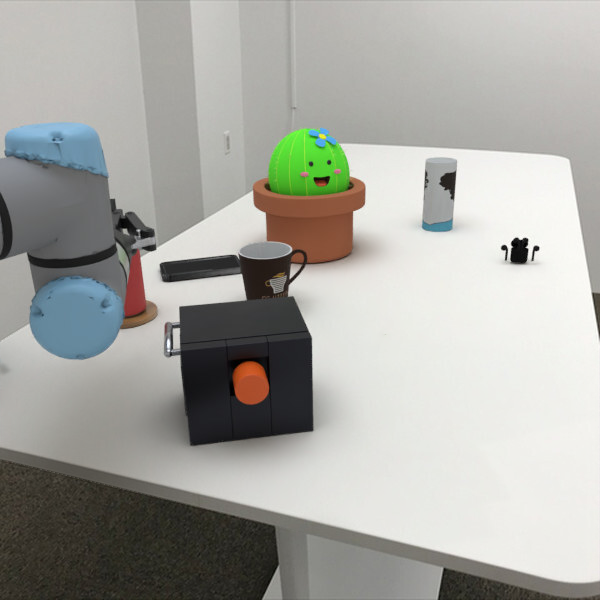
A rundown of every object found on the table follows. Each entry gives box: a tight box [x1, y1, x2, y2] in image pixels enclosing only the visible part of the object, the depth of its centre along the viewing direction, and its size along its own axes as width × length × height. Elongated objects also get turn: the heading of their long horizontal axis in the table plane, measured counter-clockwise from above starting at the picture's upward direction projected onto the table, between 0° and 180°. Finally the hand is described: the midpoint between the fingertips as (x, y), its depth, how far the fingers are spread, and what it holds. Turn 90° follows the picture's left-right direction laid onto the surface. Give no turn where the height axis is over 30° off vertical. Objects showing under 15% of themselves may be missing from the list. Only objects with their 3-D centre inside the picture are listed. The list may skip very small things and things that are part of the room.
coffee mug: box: [237, 241, 308, 300], centre depth 105 cm, size 12×9×10 cm
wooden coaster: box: [119, 299, 159, 330], centre depth 105 cm, size 10×10×1 cm
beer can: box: [124, 249, 147, 318], centre depth 102 cm, size 7×7×12 cm
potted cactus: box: [252, 125, 366, 264], centre depth 128 cm, size 22×22×25 cm
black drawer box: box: [163, 295, 314, 447], centre depth 76 cm, size 12×16×12 cm
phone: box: [158, 254, 242, 282], centre depth 123 cm, size 8×1×15 cm
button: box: [233, 361, 269, 404], centre depth 69 cm, size 3×4×4 cm
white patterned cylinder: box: [421, 156, 458, 233], centre depth 143 cm, size 7×7×15 cm
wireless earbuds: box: [500, 236, 541, 264], centre depth 123 cm, size 7×2×5 cm, turn 82°
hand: (110, 208), depth 89 cm, fingers closed
